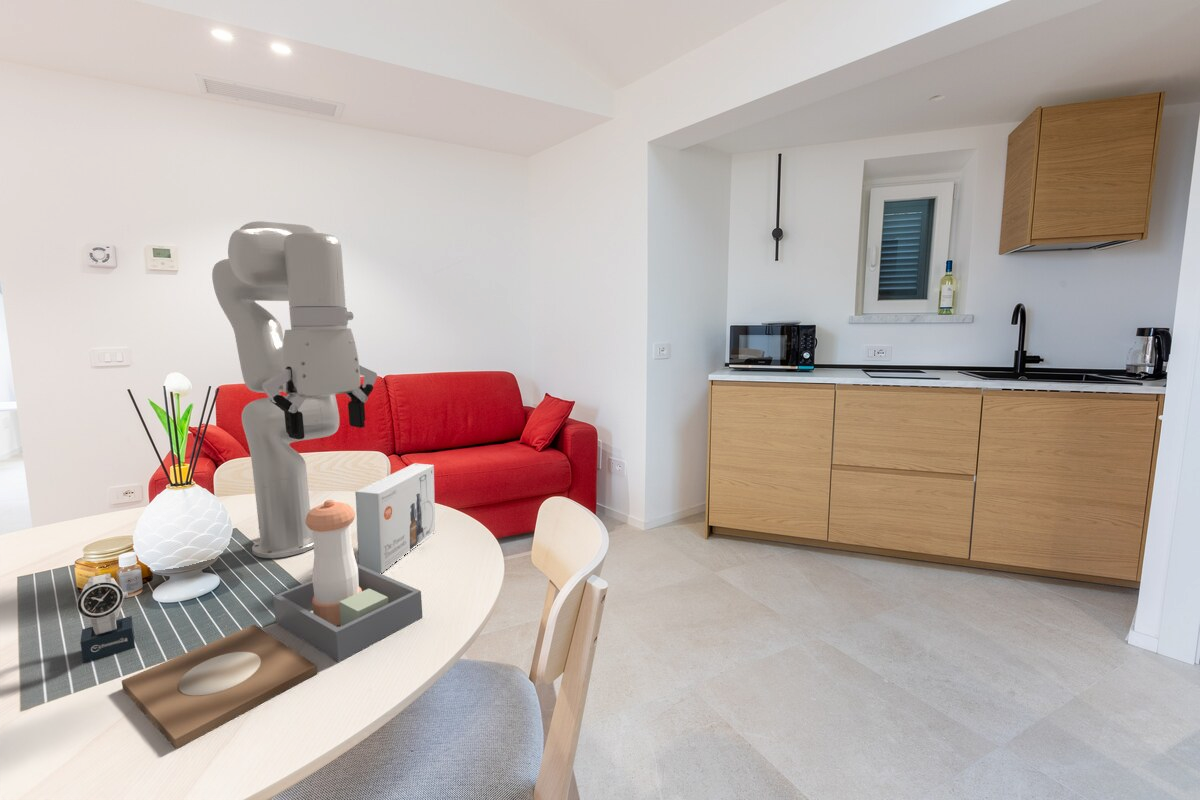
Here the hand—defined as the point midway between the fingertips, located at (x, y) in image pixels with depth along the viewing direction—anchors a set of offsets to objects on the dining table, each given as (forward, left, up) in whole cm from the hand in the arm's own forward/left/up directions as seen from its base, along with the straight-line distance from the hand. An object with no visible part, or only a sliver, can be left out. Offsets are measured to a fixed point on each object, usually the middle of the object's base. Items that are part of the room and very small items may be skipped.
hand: (328, 432), depth 86 cm
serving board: (+3, -19, -30) cm, 35 cm away
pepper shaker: (0, -1, -30) cm, 30 cm away
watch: (-19, -25, -30) cm, 44 cm away
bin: (+3, -1, -30) cm, 30 cm away
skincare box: (-13, +20, -30) cm, 39 cm away
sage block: (+7, -1, -30) cm, 31 cm away
